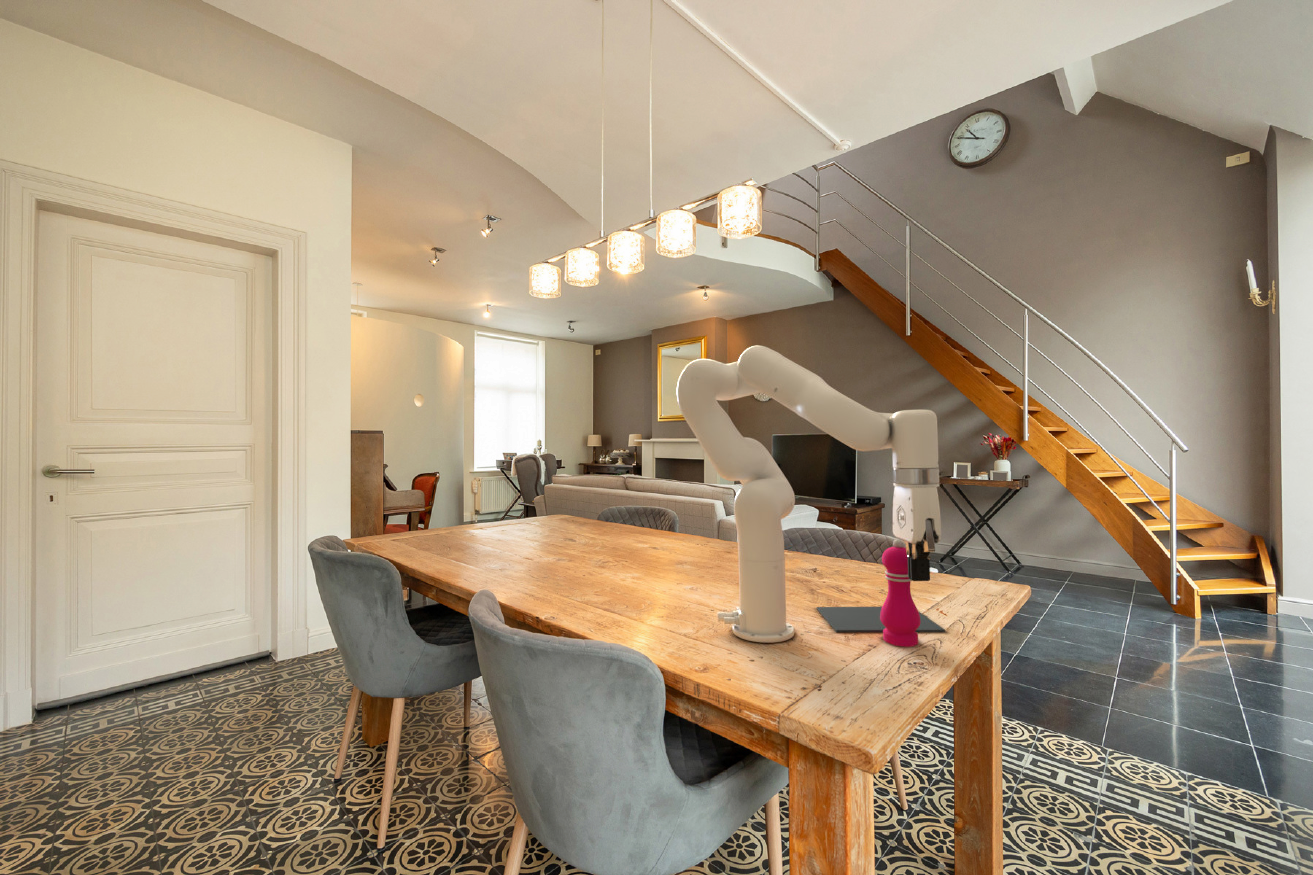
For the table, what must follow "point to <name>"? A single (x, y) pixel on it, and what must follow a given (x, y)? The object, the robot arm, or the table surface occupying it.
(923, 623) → the mat
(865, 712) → the table surface
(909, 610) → the pepper mill
